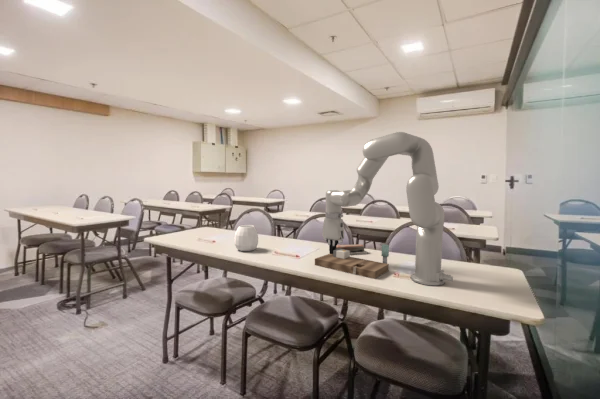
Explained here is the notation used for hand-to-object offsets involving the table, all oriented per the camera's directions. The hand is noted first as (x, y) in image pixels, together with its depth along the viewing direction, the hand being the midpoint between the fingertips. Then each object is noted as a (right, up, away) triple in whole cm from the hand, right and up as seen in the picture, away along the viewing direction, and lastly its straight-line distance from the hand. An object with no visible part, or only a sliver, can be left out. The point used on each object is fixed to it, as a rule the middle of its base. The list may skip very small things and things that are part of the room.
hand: (332, 253), depth 147 cm
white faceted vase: (-46, -2, +23) cm, 51 cm away
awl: (+23, -5, -8) cm, 25 cm away
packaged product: (+11, -4, +18) cm, 21 cm away
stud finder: (+4, -1, -3) cm, 5 cm away
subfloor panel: (+7, -5, -10) cm, 13 cm away
